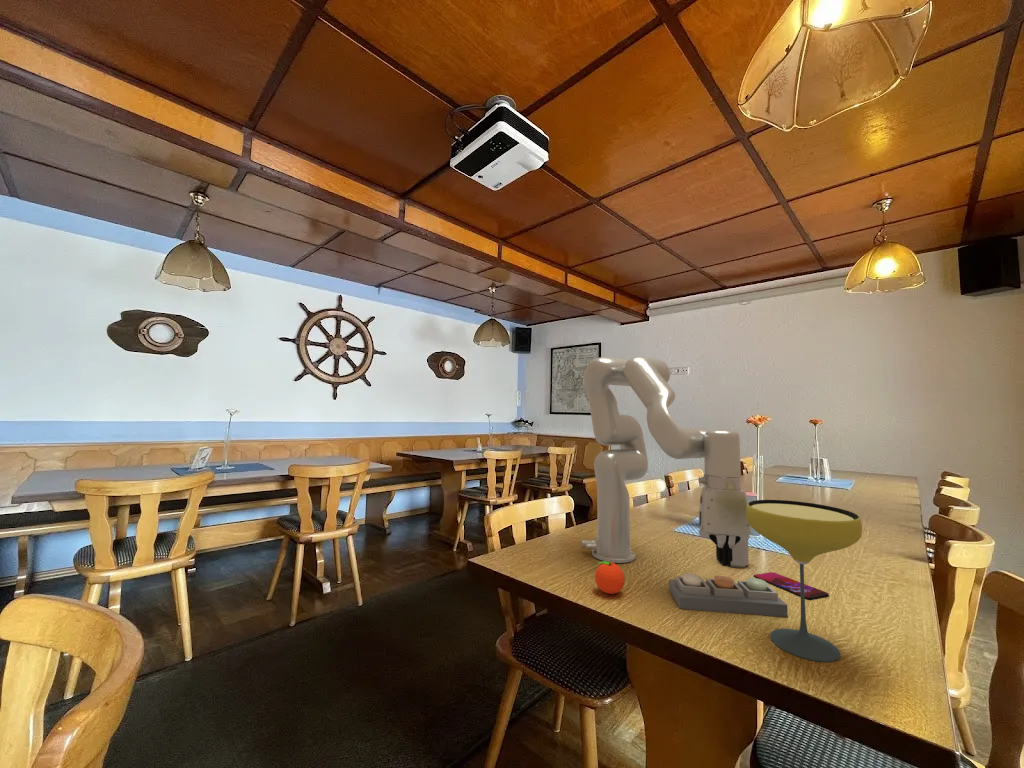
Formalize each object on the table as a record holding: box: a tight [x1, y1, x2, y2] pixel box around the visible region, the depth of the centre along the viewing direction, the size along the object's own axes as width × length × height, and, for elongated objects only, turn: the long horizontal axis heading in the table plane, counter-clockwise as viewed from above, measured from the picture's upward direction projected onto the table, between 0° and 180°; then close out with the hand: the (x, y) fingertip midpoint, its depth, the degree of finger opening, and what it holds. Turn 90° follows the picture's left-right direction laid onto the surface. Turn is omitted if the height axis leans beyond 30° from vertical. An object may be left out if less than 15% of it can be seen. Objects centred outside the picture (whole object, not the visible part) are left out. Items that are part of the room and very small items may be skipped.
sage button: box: [746, 577, 768, 592], centre depth 95 cm, size 4×4×2 cm
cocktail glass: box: [746, 499, 863, 663], centre depth 79 cm, size 18×18×25 cm
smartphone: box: [753, 571, 830, 601], centre depth 105 cm, size 8×1×15 cm
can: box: [722, 535, 750, 568], centre depth 121 cm, size 8×8×12 cm
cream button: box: [682, 573, 702, 587], centre depth 97 cm, size 4×4×2 cm
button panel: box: [668, 575, 789, 618], centre depth 95 cm, size 22×10×4 cm, turn 82°
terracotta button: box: [713, 575, 735, 589], centre depth 96 cm, size 4×4×2 cm
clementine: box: [593, 561, 626, 595], centre depth 100 cm, size 8×7×7 cm
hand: (724, 564), depth 96 cm, fingers closed
